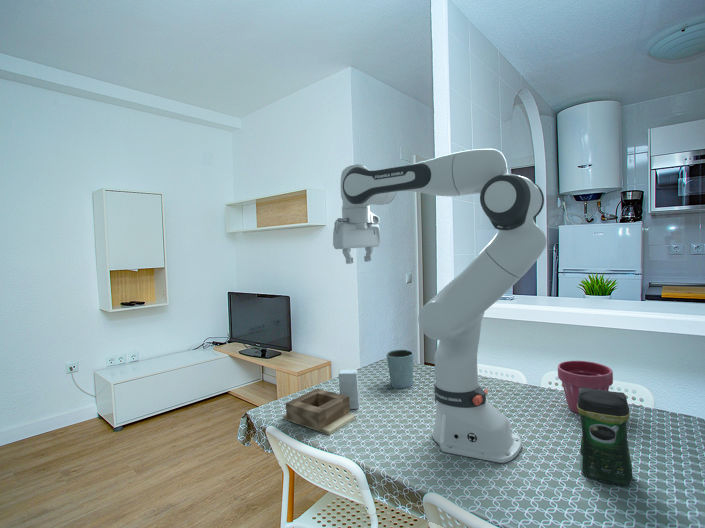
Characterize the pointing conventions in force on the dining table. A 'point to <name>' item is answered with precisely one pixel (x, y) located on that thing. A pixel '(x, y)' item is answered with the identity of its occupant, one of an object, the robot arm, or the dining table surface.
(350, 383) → the skincare box
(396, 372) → the blue-grey flower pot
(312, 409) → the socket
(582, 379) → the plant pot
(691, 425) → the dining table surface
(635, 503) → the dining table surface
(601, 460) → the coffee jar
